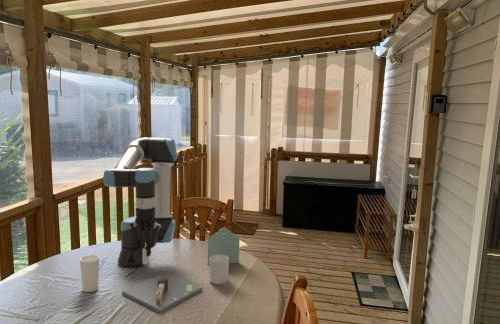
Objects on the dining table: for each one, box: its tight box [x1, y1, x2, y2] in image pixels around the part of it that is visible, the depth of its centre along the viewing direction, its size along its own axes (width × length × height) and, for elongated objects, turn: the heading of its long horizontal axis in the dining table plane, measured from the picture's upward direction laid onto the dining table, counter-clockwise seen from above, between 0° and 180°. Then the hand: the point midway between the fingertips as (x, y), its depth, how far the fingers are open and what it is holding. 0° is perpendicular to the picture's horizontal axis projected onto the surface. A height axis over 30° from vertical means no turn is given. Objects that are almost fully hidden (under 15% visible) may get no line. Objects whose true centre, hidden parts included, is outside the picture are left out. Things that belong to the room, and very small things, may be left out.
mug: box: [208, 255, 230, 286], centre depth 175 cm, size 12×9×11 cm
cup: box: [79, 254, 101, 293], centre depth 161 cm, size 8×8×14 cm
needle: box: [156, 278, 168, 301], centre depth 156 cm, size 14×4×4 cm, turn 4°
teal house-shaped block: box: [207, 226, 240, 265], centre depth 196 cm, size 16×8×20 cm, turn 100°
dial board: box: [121, 271, 203, 314], centre depth 161 cm, size 24×24×2 cm
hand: (145, 262), depth 152 cm, fingers closed
